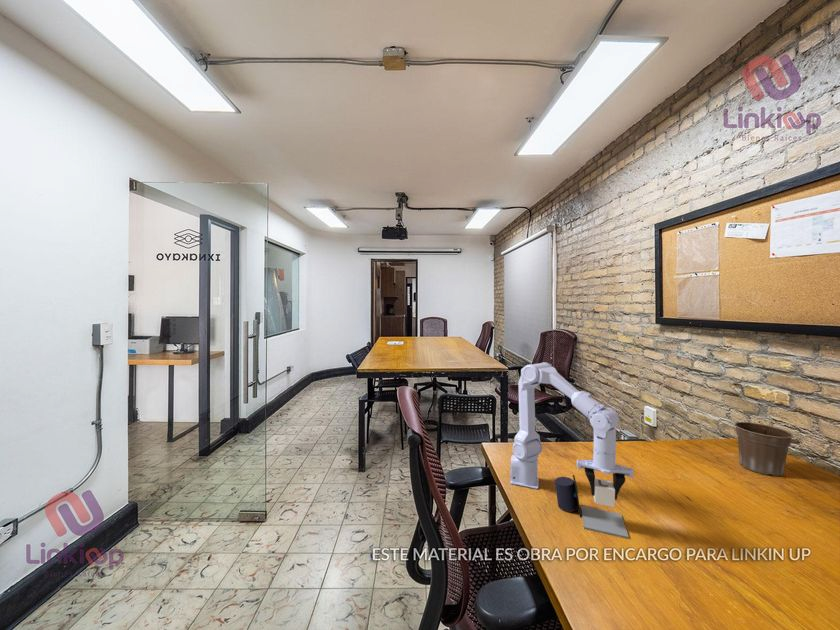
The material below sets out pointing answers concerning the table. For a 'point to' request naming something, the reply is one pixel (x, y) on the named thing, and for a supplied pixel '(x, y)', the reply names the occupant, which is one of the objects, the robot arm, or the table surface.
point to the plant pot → (763, 447)
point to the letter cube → (604, 492)
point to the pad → (603, 521)
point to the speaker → (567, 494)
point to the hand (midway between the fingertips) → (603, 495)
